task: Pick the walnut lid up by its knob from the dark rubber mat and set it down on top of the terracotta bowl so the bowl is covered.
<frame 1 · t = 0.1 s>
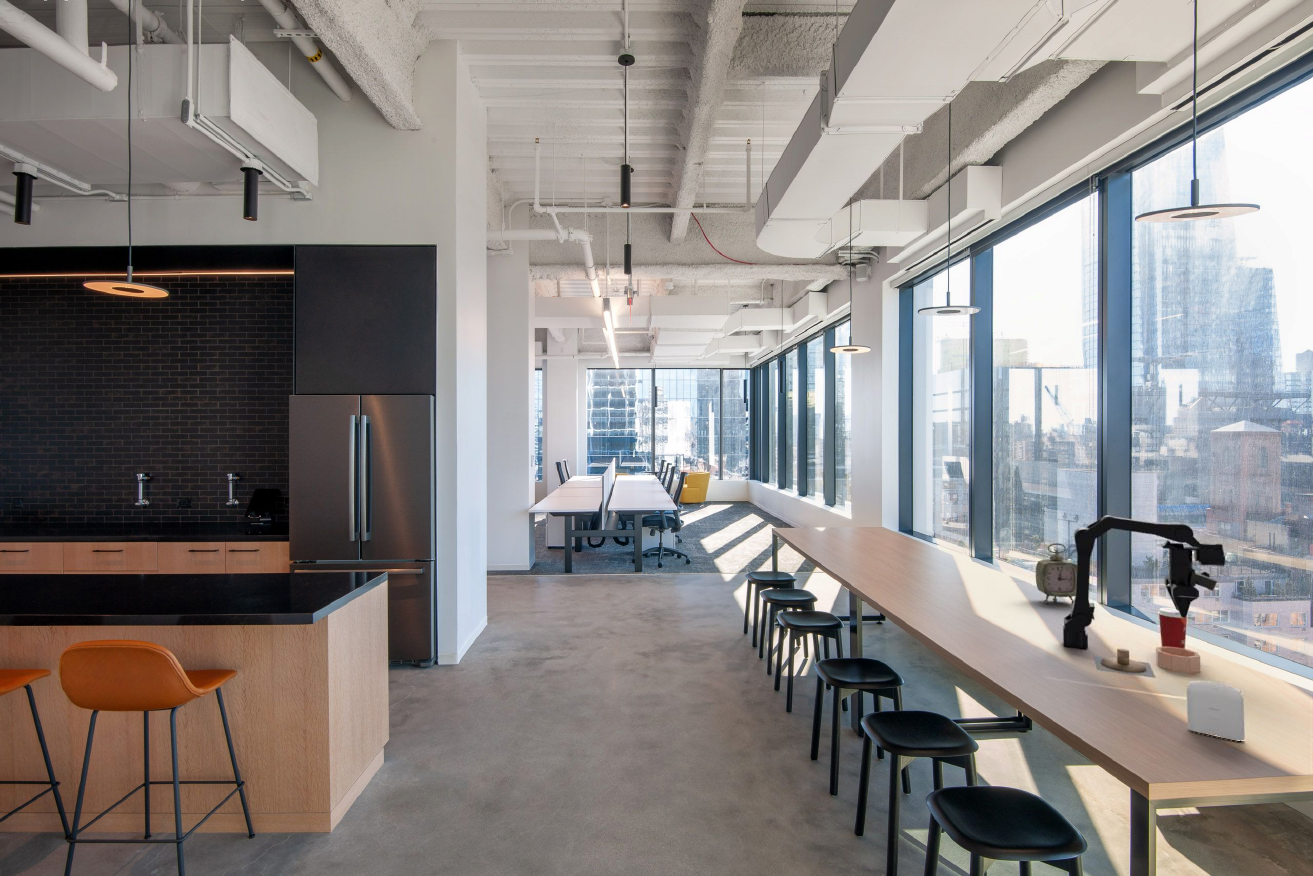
hand: (1181, 613, 206), 15 cm above the table, tool pointing down, fingers open, 9 cm apart
paper cup: (1173, 654, 213), on the table
lid: (1123, 666, 200), point 1 cm above the table, touching mat
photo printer: (1215, 736, 155), on the table
tabletop clock: (1057, 603, 279), on the table
mat: (1123, 668, 200), on the table
bowl: (1177, 668, 199), on the table
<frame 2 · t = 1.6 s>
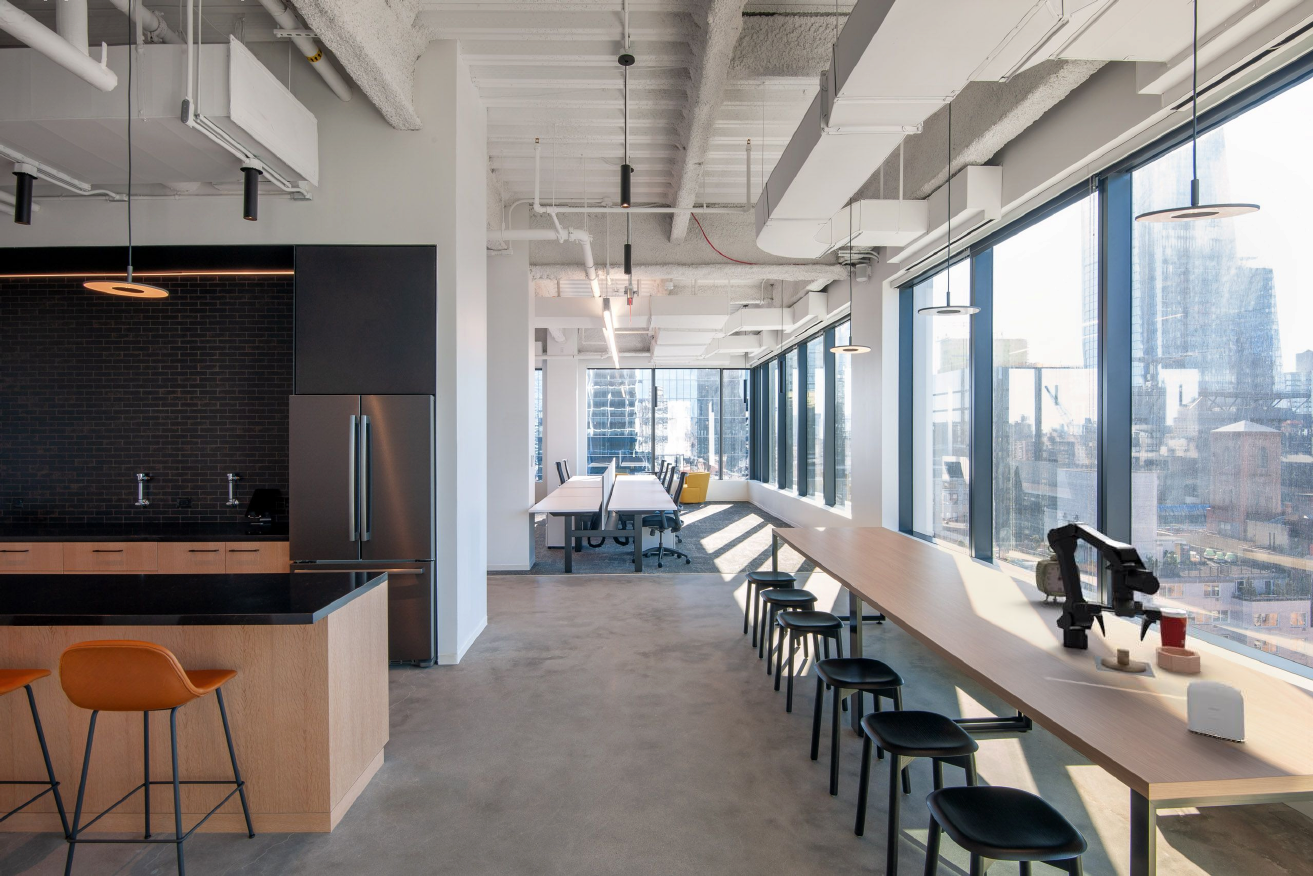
hand: (1122, 638, 200), 9 cm above the table, tool pointing down, fingers open, 9 cm apart
nothing on the table moved.
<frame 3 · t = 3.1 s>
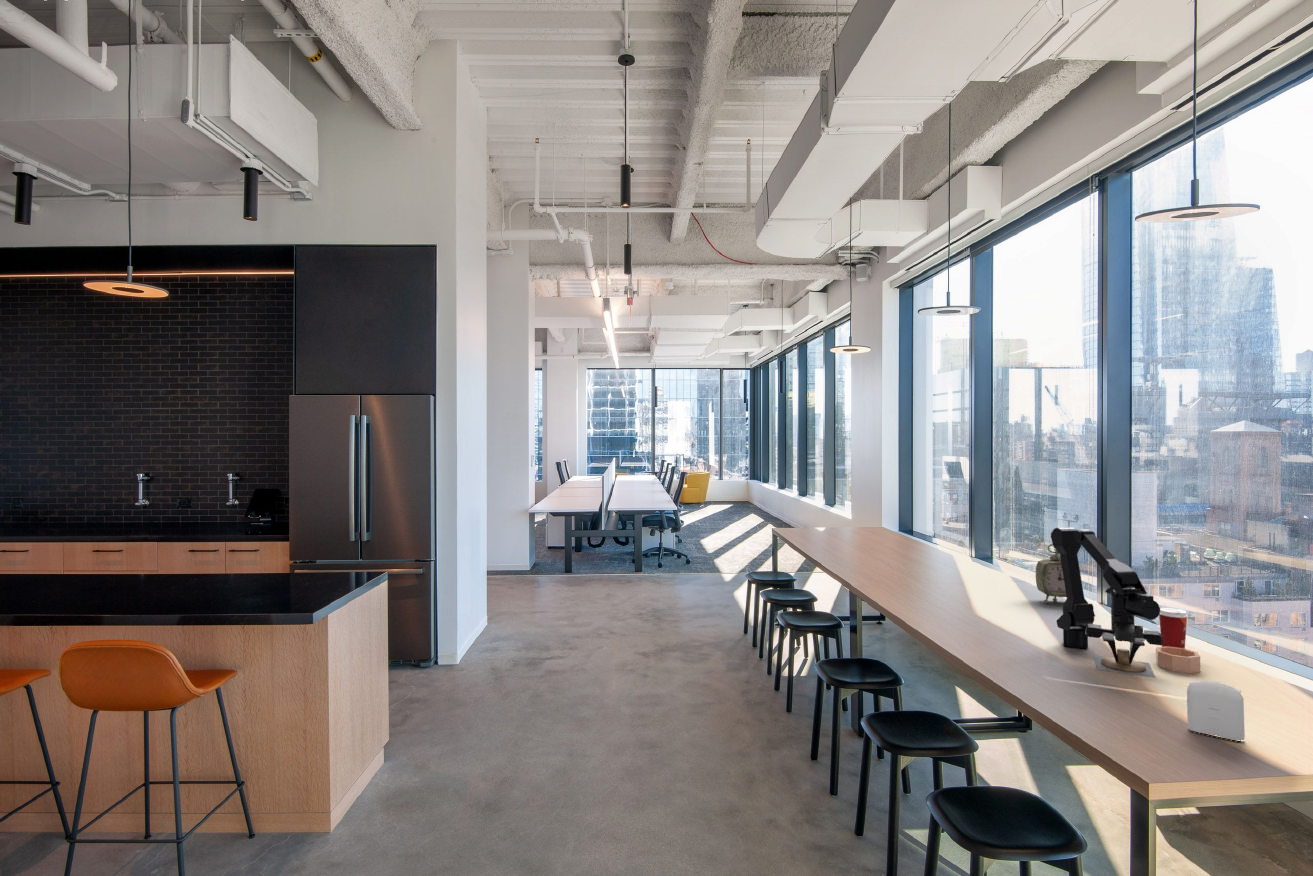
hand: (1123, 662, 200), 2 cm above the table, tool pointing down, fingers closed on lid, 3 cm apart
lid: (1123, 666, 200), point 1 cm above the table, touching gripper, mat
everything else where it was.
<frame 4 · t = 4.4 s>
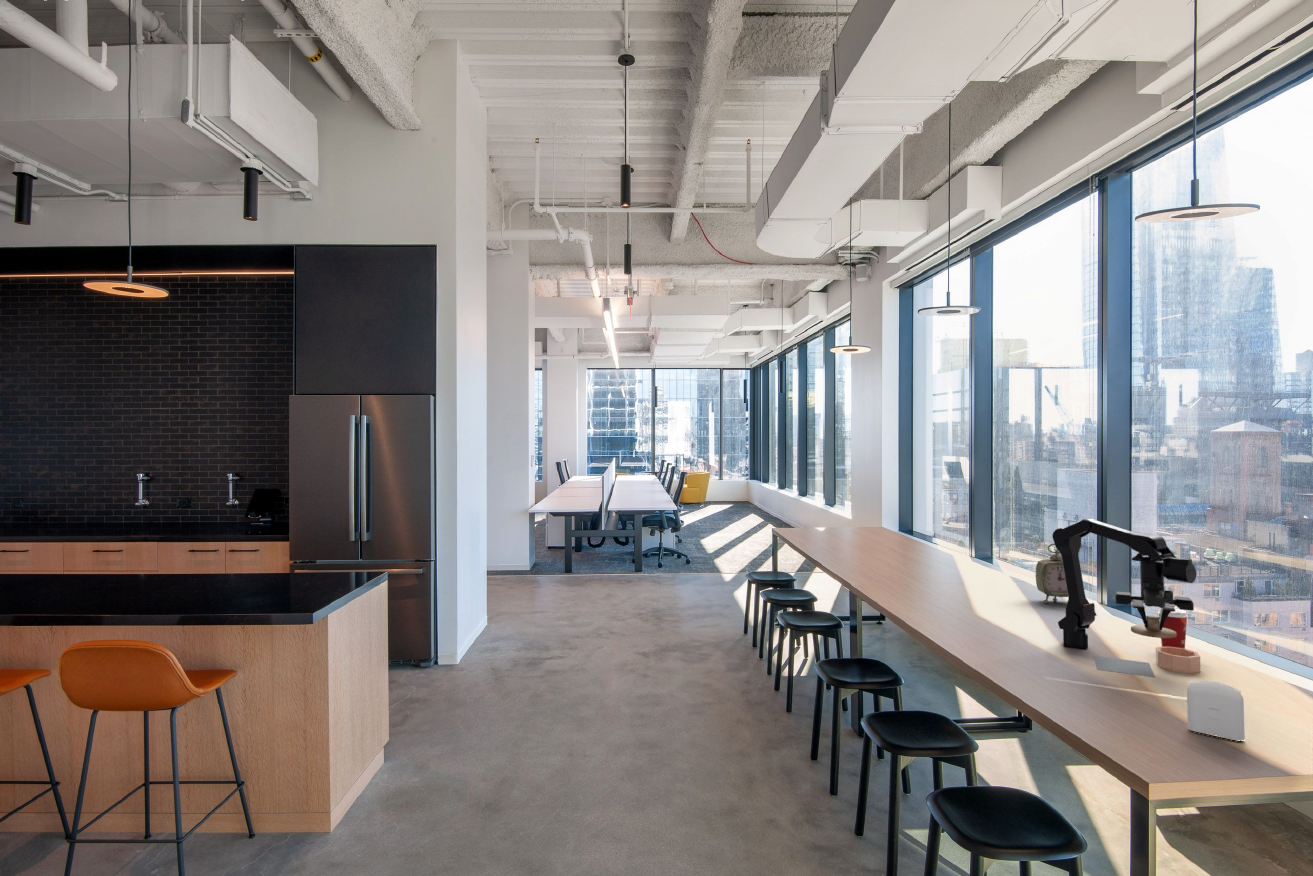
hand: (1153, 629, 199), 12 cm above the table, tool pointing down, fingers closed on lid, 3 cm apart
lid: (1153, 632, 199), point 11 cm above the table, touching gripper
everything else where it was.
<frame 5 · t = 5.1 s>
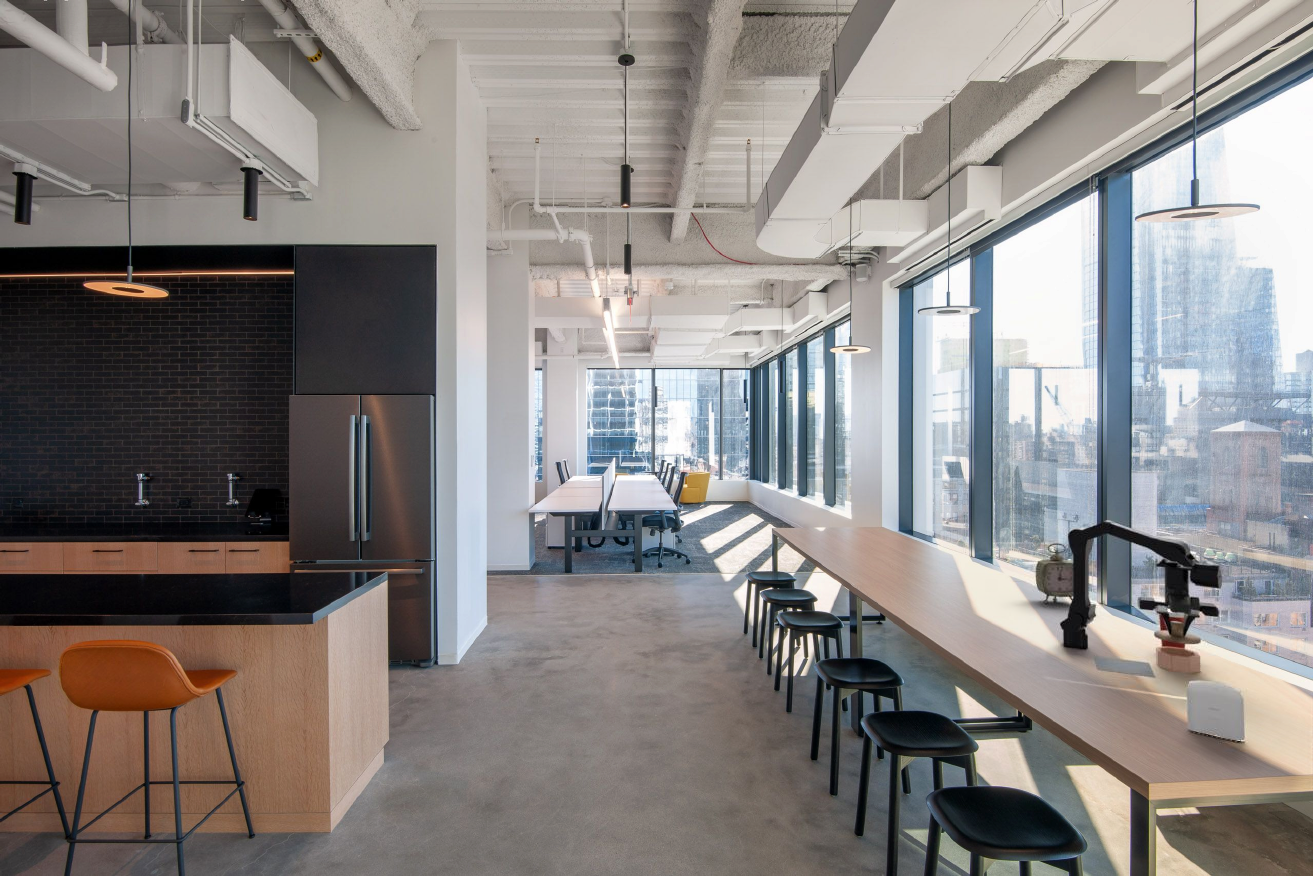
hand: (1176, 635, 199), 10 cm above the table, tool pointing down, fingers closed on lid, 3 cm apart
lid: (1177, 638, 199), point 9 cm above the table, touching gripper
everything else where it was.
when the fingers open (8 cm above the table, at t = 5.7 s): lid drops 2 cm, resting on bowl.
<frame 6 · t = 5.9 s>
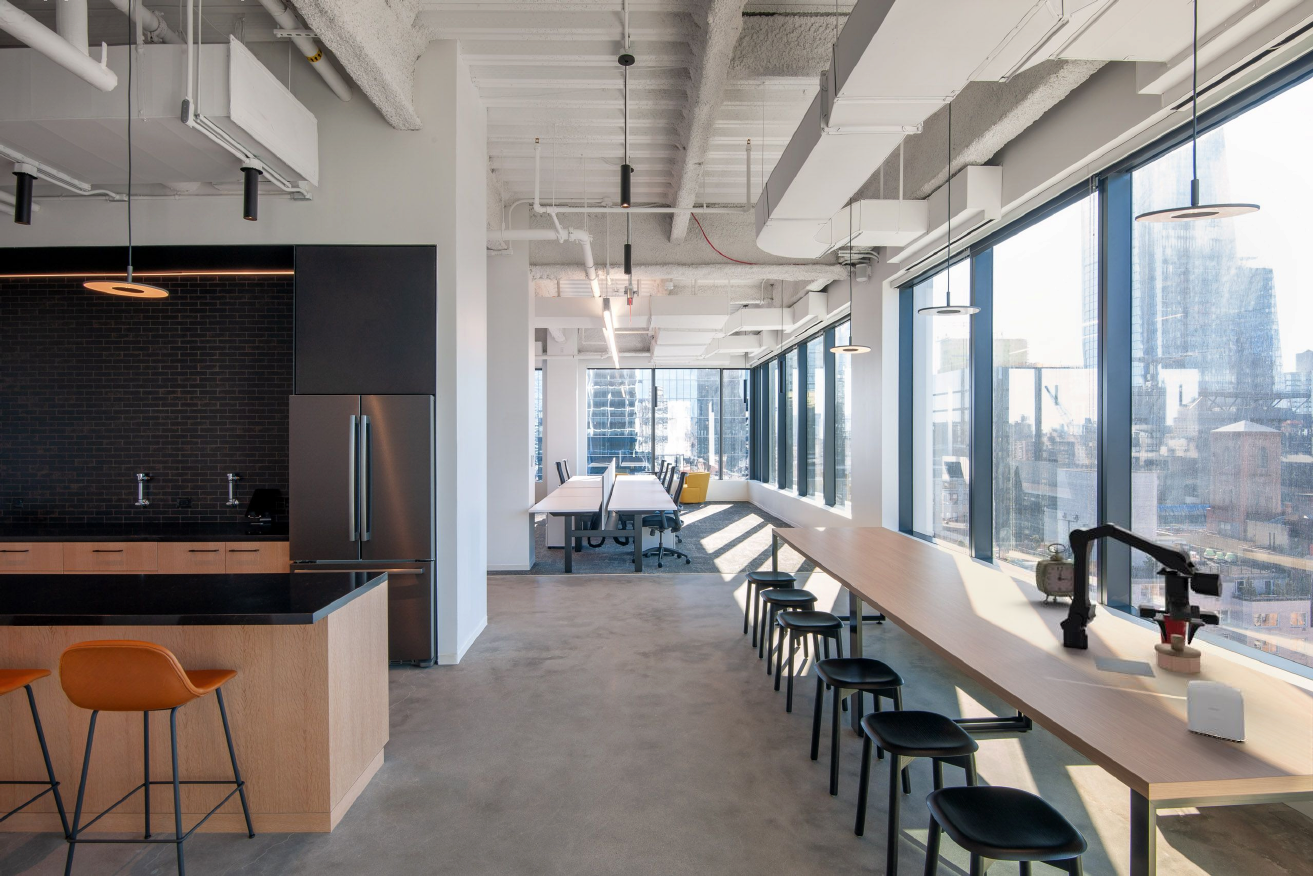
hand: (1177, 643, 199), 8 cm above the table, tool pointing down, fingers open, 5 cm apart
lid: (1177, 652, 199), point 5 cm above the table, touching bowl
everything else where it was.
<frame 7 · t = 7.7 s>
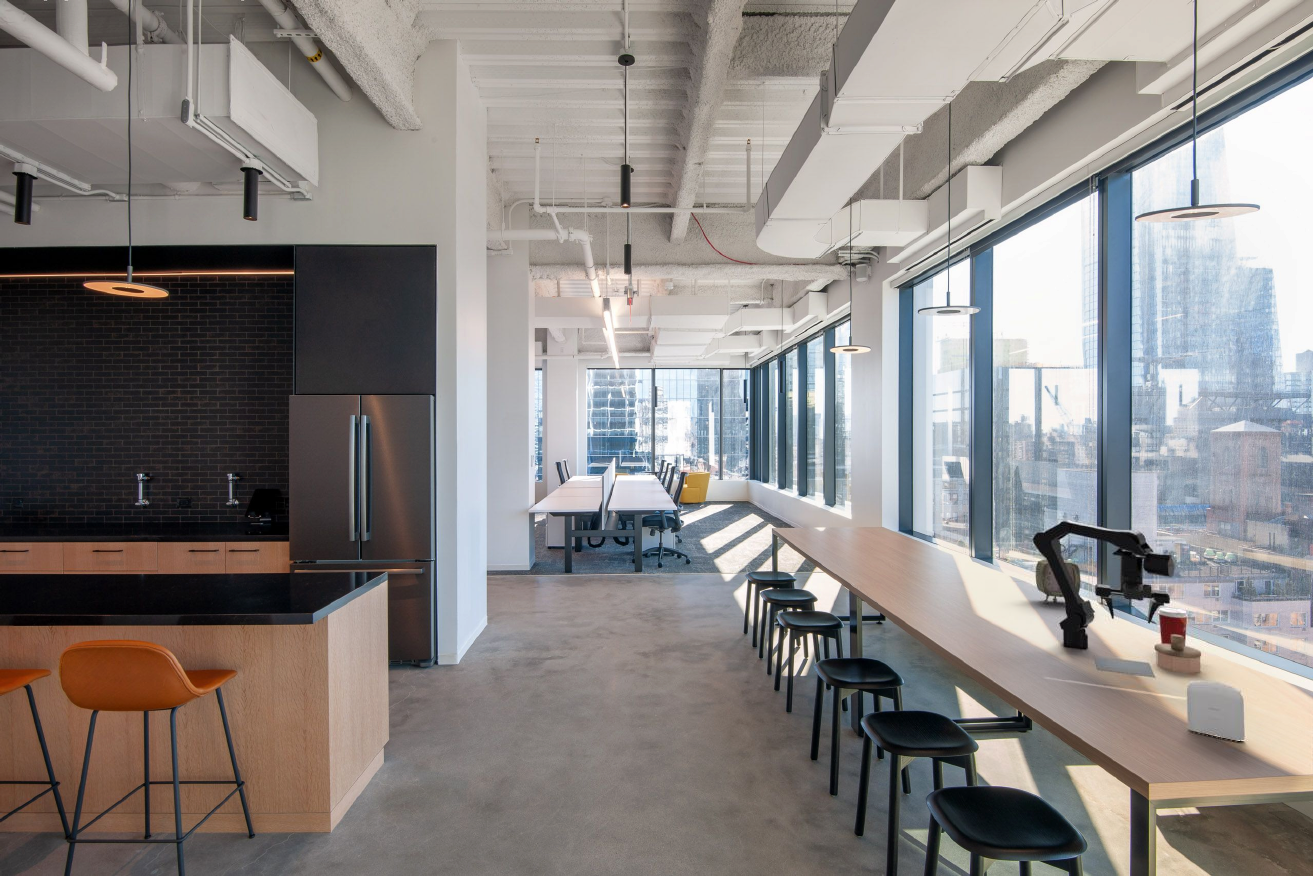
hand: (1130, 621, 207), 12 cm above the table, tool pointing down, fingers open, 9 cm apart
nothing on the table moved.
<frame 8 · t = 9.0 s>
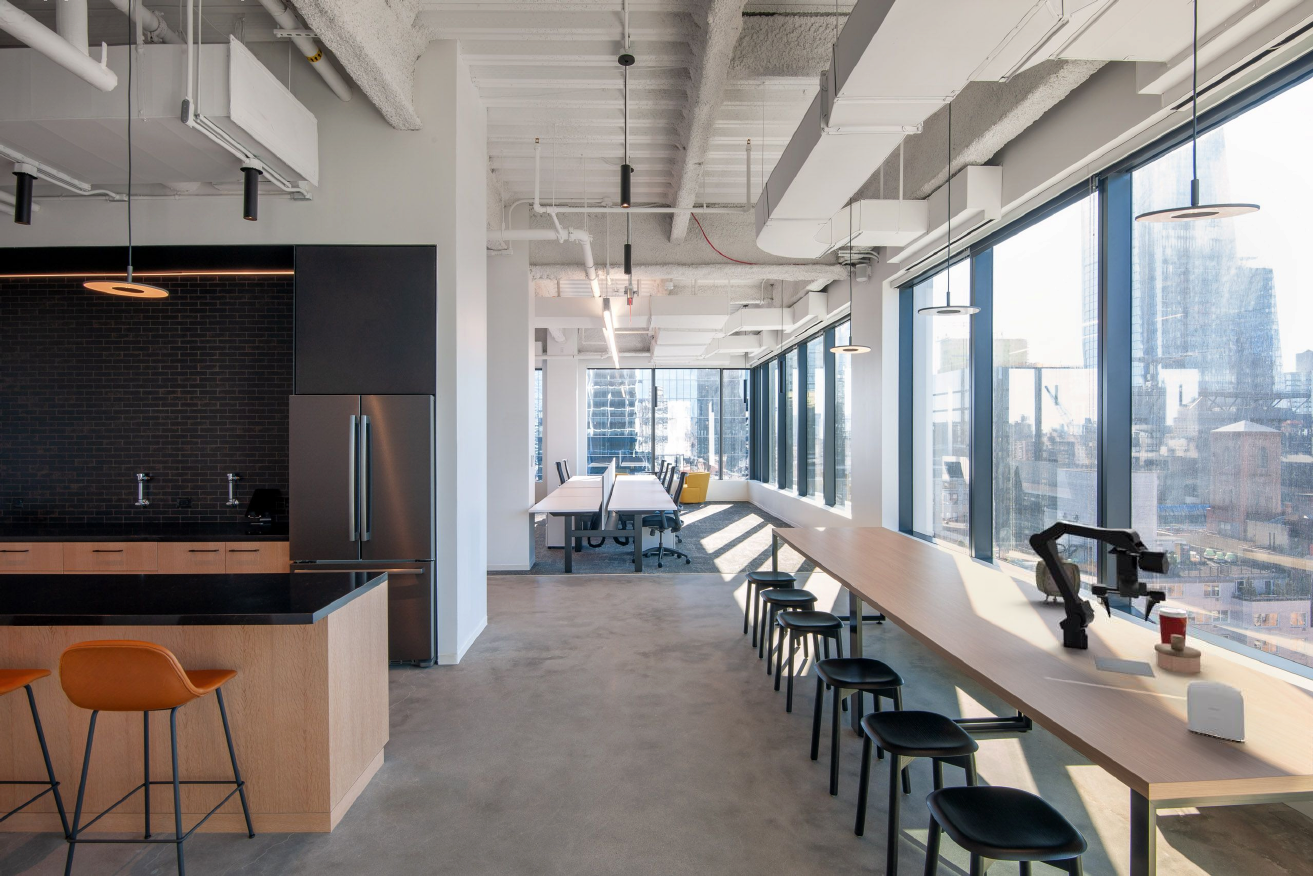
hand: (1127, 619, 208), 13 cm above the table, tool pointing down, fingers open, 9 cm apart
nothing on the table moved.
at the end: lid 0.1 cm from the bowl (horizontally); lid inside the target area (0.1 cm from its centre), point 5.0 cm above the table; the gripper is holding nothing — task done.
